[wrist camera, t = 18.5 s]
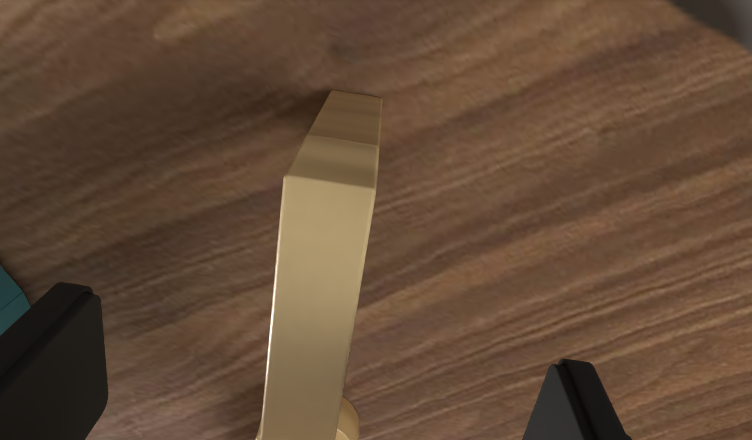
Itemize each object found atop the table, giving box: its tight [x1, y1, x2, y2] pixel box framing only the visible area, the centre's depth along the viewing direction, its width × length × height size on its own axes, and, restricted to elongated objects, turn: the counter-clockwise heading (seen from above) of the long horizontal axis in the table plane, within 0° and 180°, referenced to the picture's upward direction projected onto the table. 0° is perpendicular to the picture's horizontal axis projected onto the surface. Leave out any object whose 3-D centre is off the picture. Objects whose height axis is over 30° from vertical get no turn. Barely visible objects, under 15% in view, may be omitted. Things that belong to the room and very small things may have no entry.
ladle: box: [256, 90, 383, 440], centre depth 18 cm, size 17×4×9 cm, turn 171°
